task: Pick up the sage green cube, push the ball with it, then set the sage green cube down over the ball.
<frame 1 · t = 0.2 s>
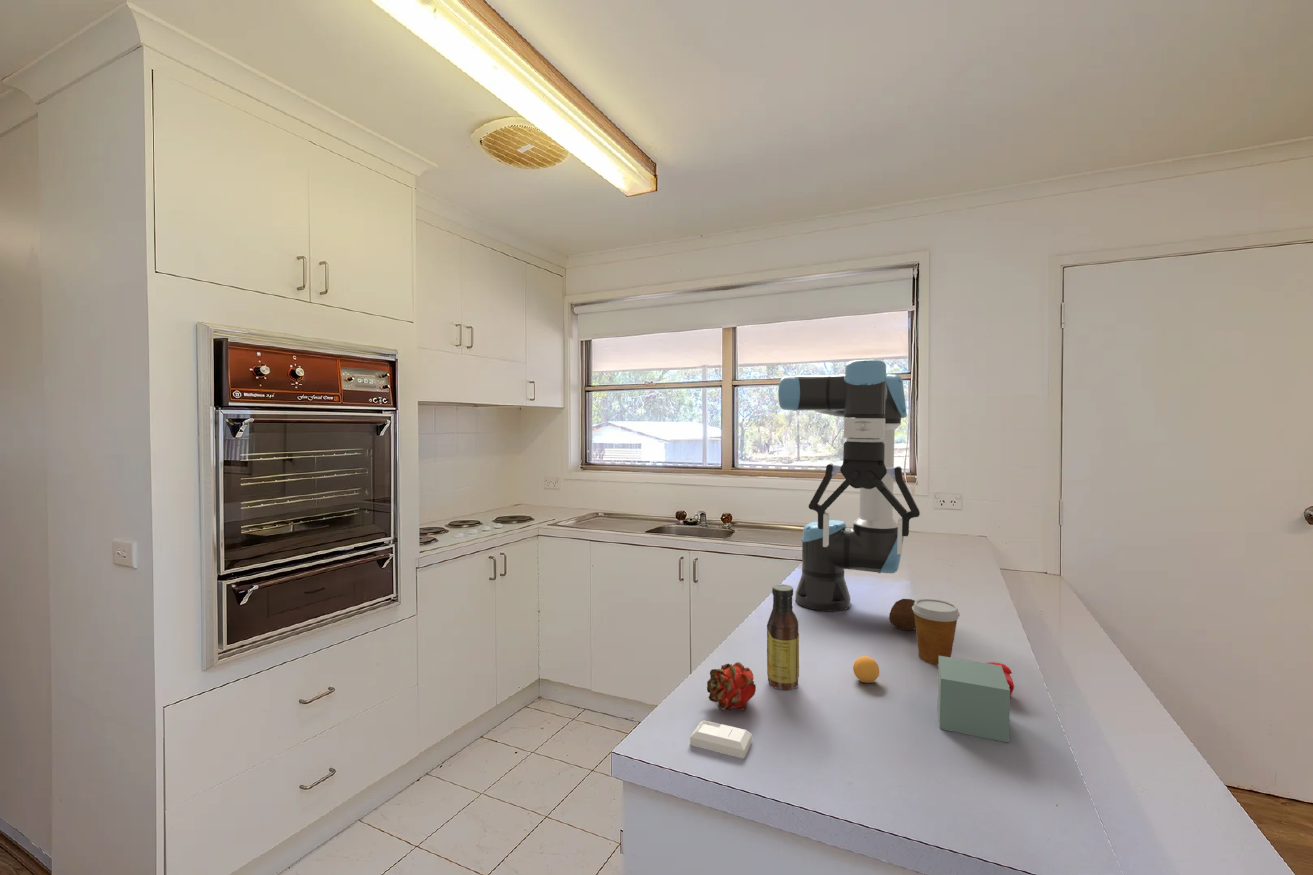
hand: (861, 549, 112), 28 cm above the counter, tool pointing down, fingers open, 13 cm apart
soap bar: (721, 747, 94), on the counter
disposable coffee cup: (934, 659, 127), on the counter
ball: (866, 669, 116), on the counter
dragon fruit: (732, 705, 107), on the counter
potato: (905, 631, 143), on the counter
sauce bottle: (782, 685, 114), on the counter
red curved piece: (993, 692, 112), on the counter
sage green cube: (970, 720, 101), on the counter
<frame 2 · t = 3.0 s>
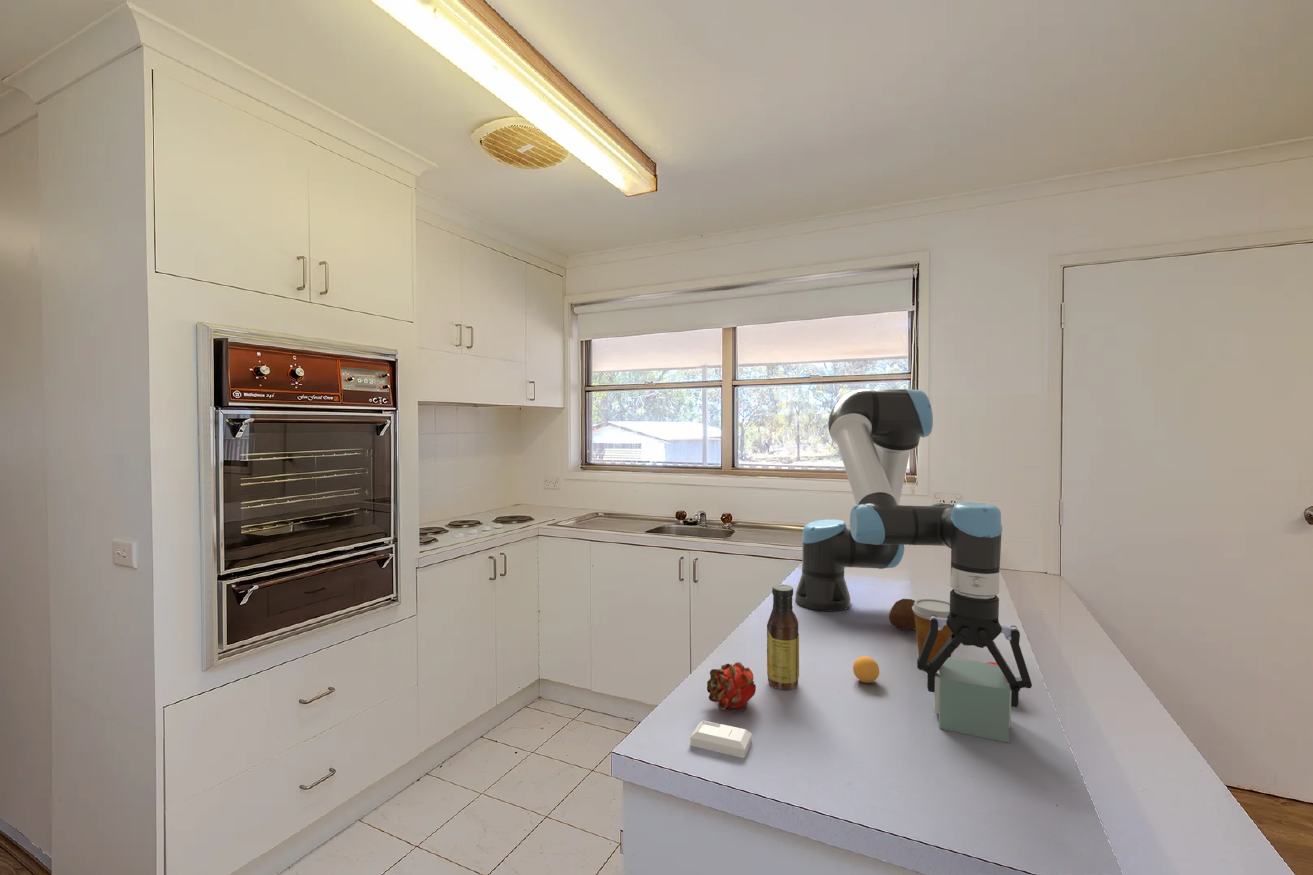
hand: (970, 716, 101), 1 cm above the counter, tool pointing down, fingers closed on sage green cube, 10 cm apart
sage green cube: (970, 720, 101), on the counter, touching gripper
everything else where it was.
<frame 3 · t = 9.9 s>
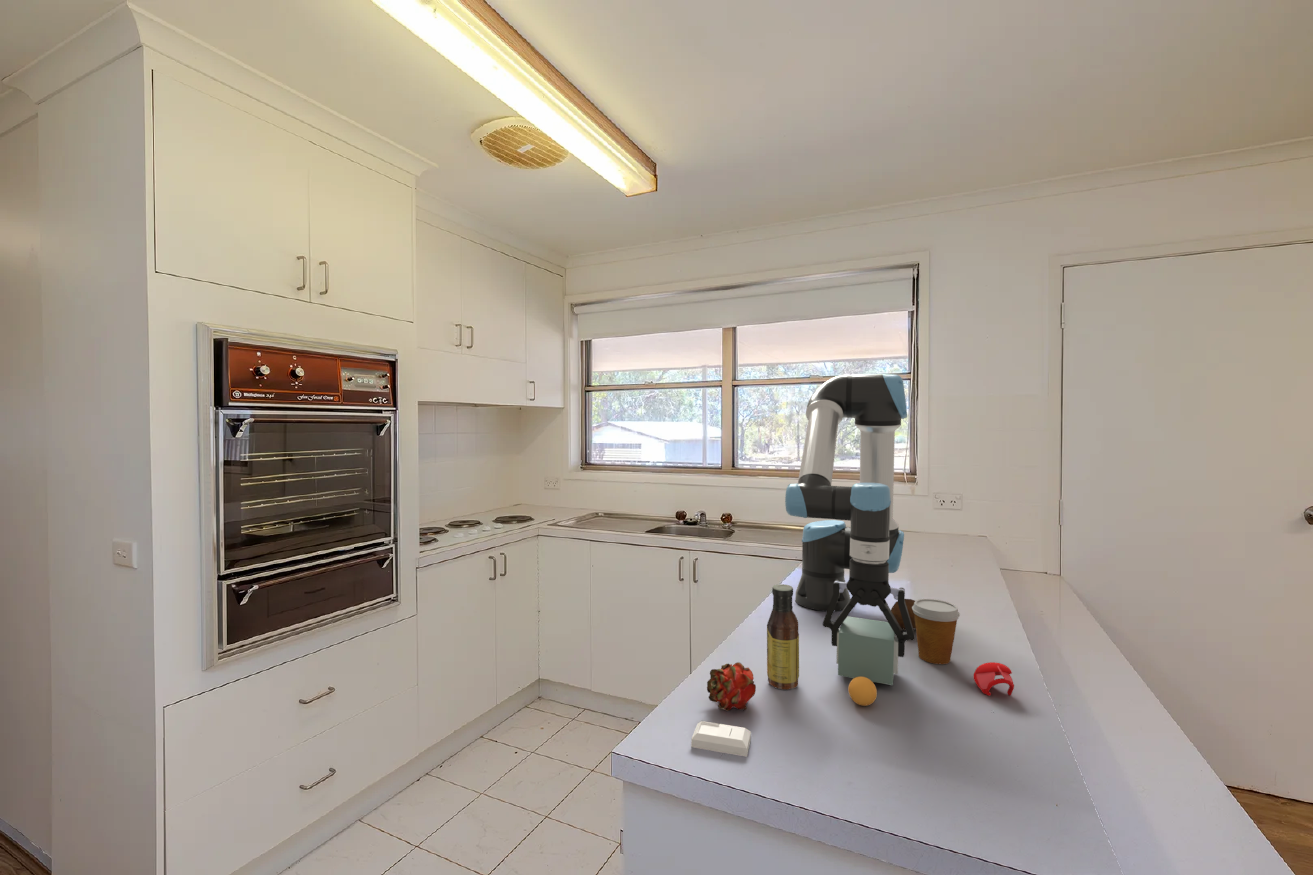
hand: (866, 666, 118), 2 cm above the counter, tool pointing down, fingers closed on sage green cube, 10 cm apart
ball: (862, 690, 107), on the counter
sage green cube: (866, 669, 118), point 2 cm above the counter, touching gripper
everything else where it was.
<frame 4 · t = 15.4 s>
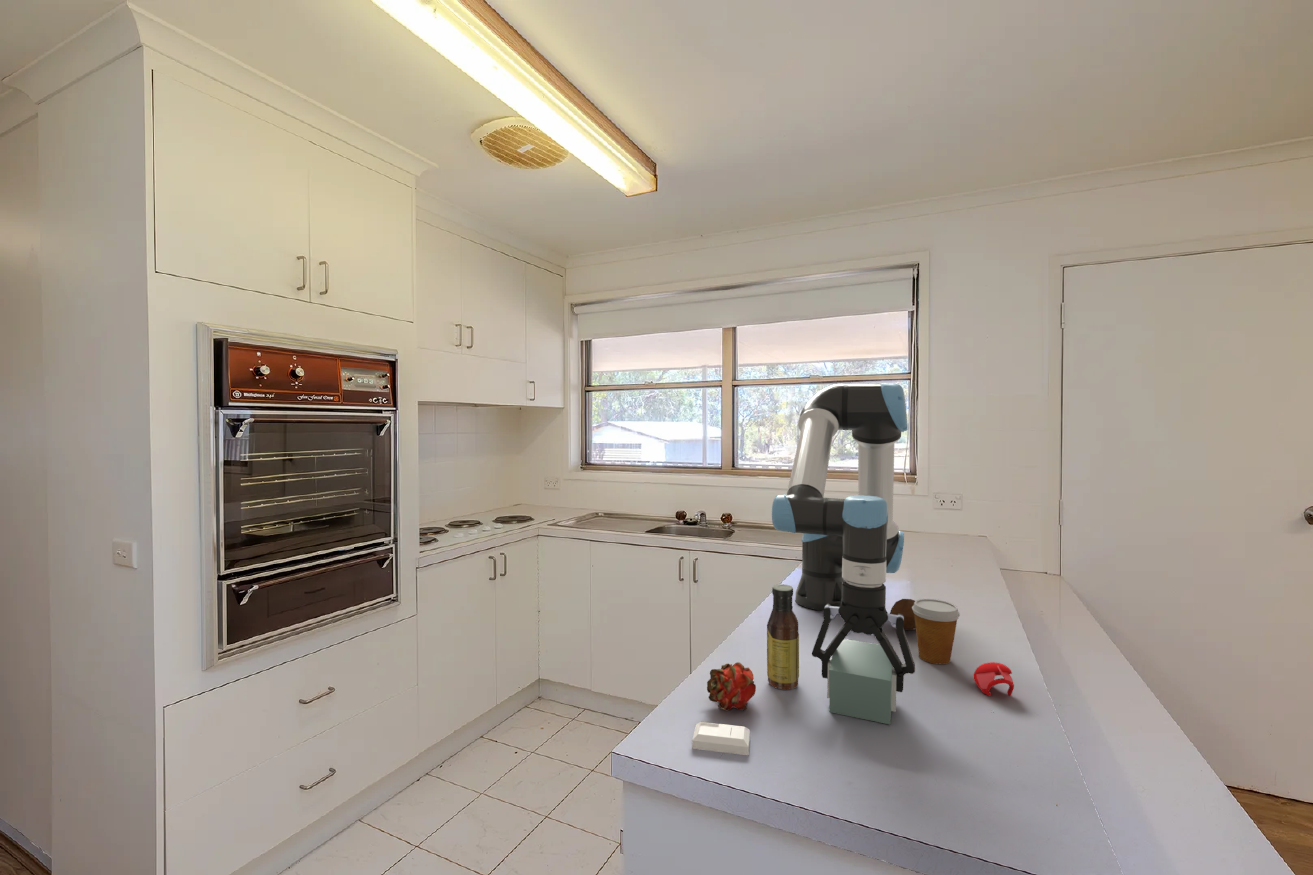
hand: (861, 701, 105), 1 cm above the counter, tool pointing down, fingers closed on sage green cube, 10 cm apart
ball: (863, 688, 108), on the counter, touching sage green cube
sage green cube: (861, 699, 106), point 1 cm above the counter, tilted 13°, touching ball, gripper
everything else where it was.
when the fingers open (1 cm above the counter, at t = 15.9 s): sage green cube drops 1 cm, on the counter.
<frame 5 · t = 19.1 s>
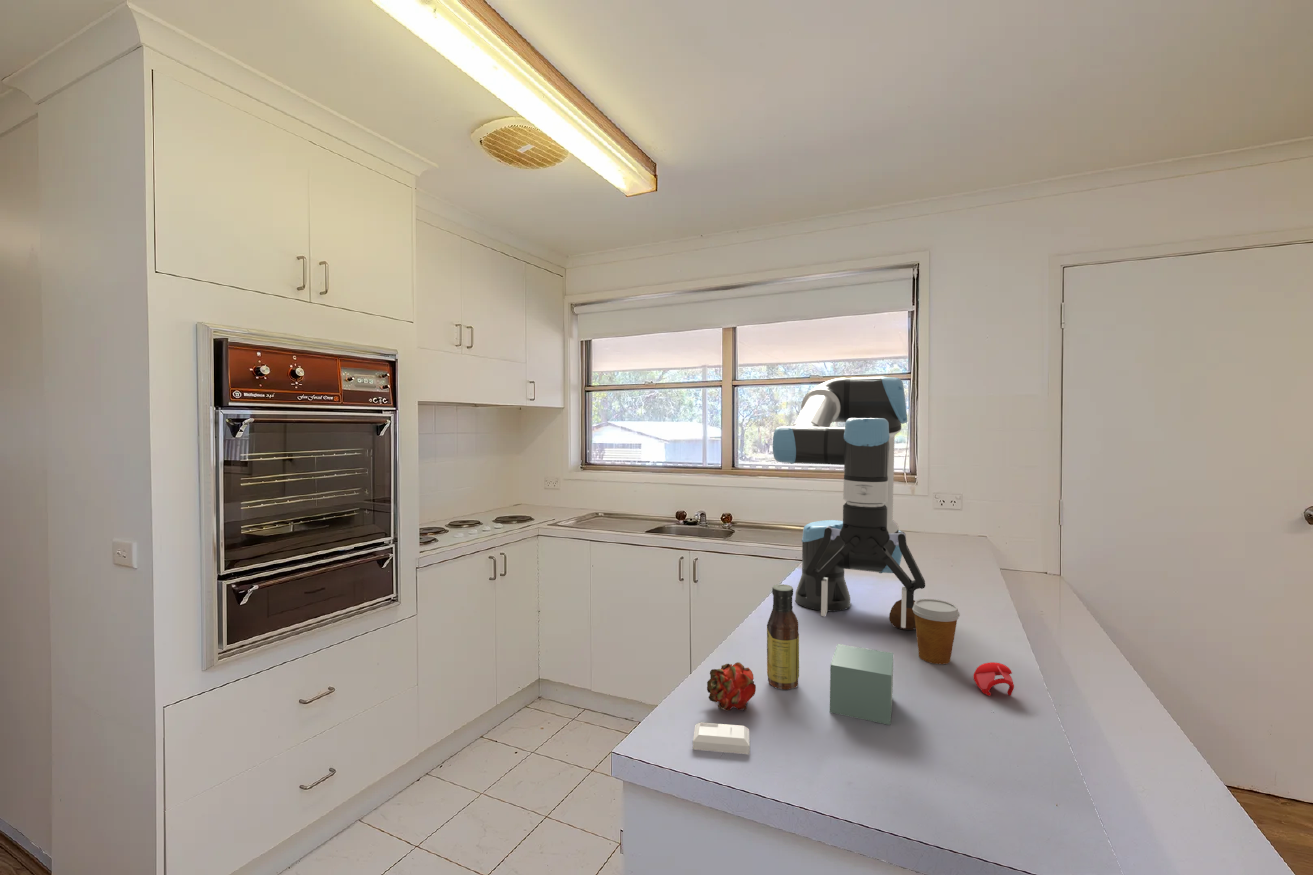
hand: (862, 619, 104), 17 cm above the counter, tool pointing down, fingers open, 13 cm apart
ball: (863, 688, 108), on the counter
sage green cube: (861, 705, 106), on the counter
at the end: ball 1.6 cm from the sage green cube (horizontally); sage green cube on the counter; ball moved 8.8 cm from its start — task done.
